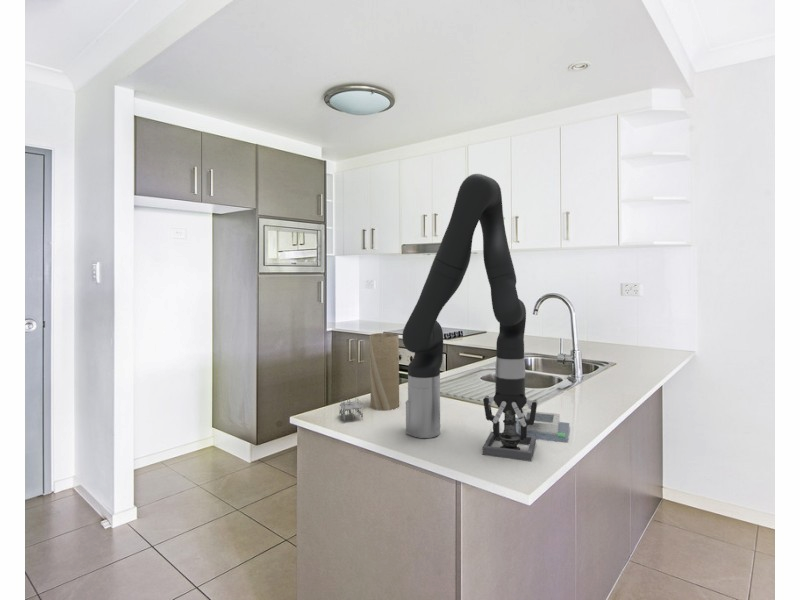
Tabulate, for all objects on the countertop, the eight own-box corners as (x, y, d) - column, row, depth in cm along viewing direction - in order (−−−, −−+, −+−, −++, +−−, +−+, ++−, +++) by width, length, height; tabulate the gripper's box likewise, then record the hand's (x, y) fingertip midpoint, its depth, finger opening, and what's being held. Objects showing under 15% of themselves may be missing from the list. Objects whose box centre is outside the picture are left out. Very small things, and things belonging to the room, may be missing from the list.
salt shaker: (517, 444, 126) (517, 400, 125) (524, 453, 120) (524, 407, 119) (496, 445, 126) (496, 401, 125) (501, 453, 120) (501, 407, 119)
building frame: (343, 423, 145) (343, 404, 145) (338, 416, 153) (337, 398, 152) (363, 421, 147) (363, 402, 147) (356, 414, 155) (356, 396, 154)
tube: (381, 412, 156) (380, 337, 154) (365, 405, 164) (364, 334, 163) (405, 406, 162) (404, 335, 160) (388, 400, 170) (387, 332, 168)
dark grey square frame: (482, 454, 119) (482, 446, 119) (491, 438, 131) (491, 431, 130) (531, 461, 115) (531, 453, 115) (535, 443, 126) (535, 436, 126)
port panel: (507, 435, 133) (508, 421, 133) (514, 420, 146) (514, 407, 146) (567, 442, 127) (567, 428, 127) (569, 426, 140) (569, 413, 140)
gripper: (479, 375, 121) (479, 439, 122) (537, 379, 115) (537, 446, 116) (485, 369, 128) (485, 430, 129) (540, 373, 122) (539, 436, 123)
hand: (510, 437), depth 123 cm, fingers closed on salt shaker, 6 cm apart
